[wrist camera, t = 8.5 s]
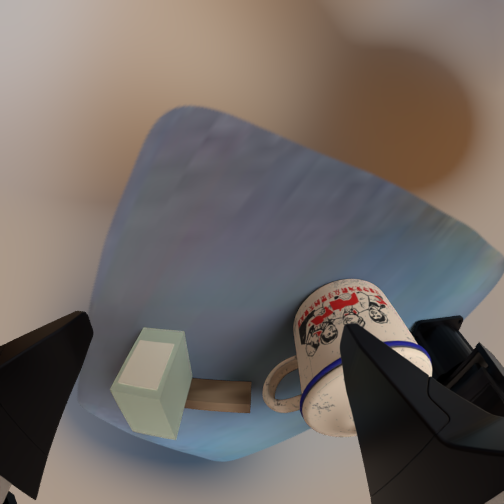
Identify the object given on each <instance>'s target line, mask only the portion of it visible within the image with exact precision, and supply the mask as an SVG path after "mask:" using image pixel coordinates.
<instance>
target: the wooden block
mask: <svg viewBox="0 0 504 504" xmlns="http://www.w3.org/2000/svg"><path fill="white" fill-rule="evenodd" d="M250 405H251V382H244V381H223V380H209V379H197V378H192V380H191V384H190V388H189V391H188V395H187V399H186V403H185V407H184V408H189V409H198V410H208V411H221V412H237V413H250Z"/></svg>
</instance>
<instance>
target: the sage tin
mask: <svg viewBox="0 0 504 504" xmlns="http://www.w3.org/2000/svg"><path fill="white" fill-rule="evenodd" d="M191 380H192V371H191V366H190V361H189V355H188V350H187V344H186V339H185V333H184V331H175V330H164V329H154V328H143V329H142V331H141V333H140V335H139V337H138V338H137V340H136V342H135V344H134V345H133V347H132V349H131V351H130V353H129V354H128V356H127V358H126V360H125V362H124V364H123V366H122V367H121V369H120V371H119V373H118V375H117V377H116V379H115V381H114V383H113V384H112V386H111V388H110V391H111V393H112V395H113V397H114V399H115V400H116V402H117V404H118V406H119V408H120V410H121V412H122V413H123V415H124V417H125V419H126V420H127V422H128V424H129V425H130V427H131V429H132V430H133V431H134V432H138V433H143V434H147V435H152V436H157V437H162V438H168V439H173V440H176V438H177V434H178V430H179V426H180V422H181V418H182V414H183V411H184V407H185V403H186V399H187V395H188V391H189V388H190V384H191Z"/></svg>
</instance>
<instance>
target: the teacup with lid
mask: <svg viewBox="0 0 504 504" xmlns="http://www.w3.org/2000/svg"><path fill="white" fill-rule="evenodd" d="M350 323H357V324H359V325H360V326H362V327H363V328H364V329H366V330H367V331H369V332H370V333H371V334H373V335H374V336H375V337H377V338H378V339H380V340H381V341H382V342H384V343H385V344H387V345H388V346H389V347H391V348H392V349H393V350H395V351H396V352H398V353H399V354H400V355H402V356H403V357H405V358H406V359H407V360H409V361H410V362H411V363H413V364H414V365H416V366H417V367H418V368H420V369H421V370H422V371H424V372H425V373H427V374H428V375H429V377H430V376H431V377H432V364H431V359H430V356H429V354H428V353H427V351H426V350H425V349H424V348H423V347H421V346H420V345H418V344H417V342H416V341H415V339H414V338H413V336H412V334H411V333H410V331H409V330H408V328H407V327H406V325H405V324H404V322H403V321H402V319H401V318H400V316H399V315H398V313H397V312H396V311H395V309H394V308H393V306H392V305H391V303H390V302H389V301H388V299H387V298H386V296H385V295H384V293H383V292H382V291H381V290H380V289H379V288H378V287H376V286H375V285H374V284H372V283H370V282H367V281H364V280H359V279H344V280H338V281H335V282H332V283H329V284H327V285H325V286H323V287H321V288H319V289H318V290H316V291H315V292H313V293H312V294H311V295H310V296H309V297H308V298H307V299H306V300H305V301H304V302H303V304H302V305H301V306H300V308H299V310H298V312H297V314H296V316H295V320H294V326H293V333H294V340H295V347H296V354H297V355H295V356H293V357H290V358H288V359H286V360H284V361H282V362H281V363H279V364H278V365H277V366H276V367H275V368H274V369H273V370H272V371H271V372H270V373H269V375H268V377H267V378H266V380H265V383H264V386H263V399H264V401H265V403H266V404H267V406H268V407H269V408H271V409H272V410H274V411H277V412H281V413H288V412H293V411H297V410H300V412H301V415H302V417H303V418H304V420H305V422H306V423H307V424H308V425H309V426H310V427H311V428H312V429H313V430H315V431H317V432H319V433H321V434H324V435H328V436H335V437H351V436H357V432H356V428H355V424H354V420H353V416H352V412H351V408H350V404H349V400H348V396H347V392H346V388H345V382H344V375H343V368H342V361H341V355H340V341H341V337H342V332H343V328H344V326H345V324H350ZM298 368H299V376H300V383H301V391H302V394H301V395H298V396H295V397H292V398H289V399H284V400H277V399H275V391H276V388H277V386H278V384H279V382H280V381H281V380H282V378H283V377H284V376H286V375H287V374H288V373H290V372H292V371H294V370H296V369H298Z"/></svg>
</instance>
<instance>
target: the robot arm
mask: <svg viewBox="0 0 504 504" xmlns="http://www.w3.org/2000/svg"><path fill="white" fill-rule="evenodd" d="M462 322H463V318H462V316H460V315H459V316H452V317H445V318H437V319H429V320H421V321H419V322H417V324H416V326H415V328H414V331H413V334H412V336H413V338H414V339H415V341H416V342H417V344H418V345H420V346H421V347H423V348H424V349H425V350H426V351H427V353H428V354H429V356H430V359H431V364H432V377H431V376H430V377H429V375H428V374H427V373H425V372H424V371H422V370H421V369H420V368H418V367H417V366H416V365H414V364H413V363H411V362H410V361H409V360H407V359H406V358H405V357H403V356H402V355H400V354H399V353H398V352H396V351H395V350H393V349H392V348H391V347H389V346H388V345H387V344H385V343H384V342H382V341H381V340H380V339H378V338H377V337H375V336H374V335H373V334H371V333H370V332H369V331H367V330H366V329H364V328H363V327H362V326H360V325H359V324H357V323H350V324H345V326H344V328H343V332H342V337H341V341H340V355H341V361H342V368H343V375H344V382H345V388H346V392H347V396H348V400H349V404H350V408H351V412H352V416H353V420H354V424H355V428H356V432H357V436H358V440H359V445H360V449H361V453H362V458H363V463H364V467H365V472H366V477H367V482H368V486H369V492H370V497H371V504H504V367H503V366H502V365H501V364H500V363H499V361H498V360H497V359H496V358H495V356H494V355H493V354H492V353H491V352H490V351H489V350H487V349H486V348H485V347H484V346H483V345H482V344H481V343H480V342H479V343H478V344H477V345H476V348H475V349H473V348H472V347H471V345H469V343H468V342H467V340H466V339H465V338H464V337H463V335H462V334H461V333H460V332H459V329H460V327H461V324H462ZM92 337H93V328H92V326H91V323H90V320H89V317H88V314H87V313H86V312H83V311H75V312H73V313H71V314H69V315H66V316H64V317H62V318H60V319H57V320H55V321H53V322H51V323H49V324H47V325H44V326H42V327H40V328H38V329H36V330H34V331H31V332H29V333H27V334H25V335H23V336H21V337H19V338H16V339H14V340H12V341H10V342H8V343H6V344H4V345H2V346H0V504H17V502H16V499H15V496H14V495H13V494H12V493H11V492H10V491H9V489H10V487H11V485H14V486H15V487H17V488H18V489H19V490H21V491H22V492H24V493H25V494H27V495H28V496H30V497H31V498H33V499H34V500H36V498H37V495H38V491H39V487H40V483H41V479H42V475H43V472H44V468H45V465H46V461H47V458H48V454H49V451H50V448H51V445H52V442H53V439H54V436H55V433H56V430H57V427H58V425H59V422H60V419H61V417H62V414H63V411H64V409H65V406H66V404H67V401H68V399H69V396H70V394H71V392H72V389H73V387H74V384H75V382H76V380H77V378H78V375H79V373H80V371H81V368H82V365H83V363H84V360H85V357H86V354H87V351H88V348H89V345H90V343H91V340H92Z"/></svg>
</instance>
